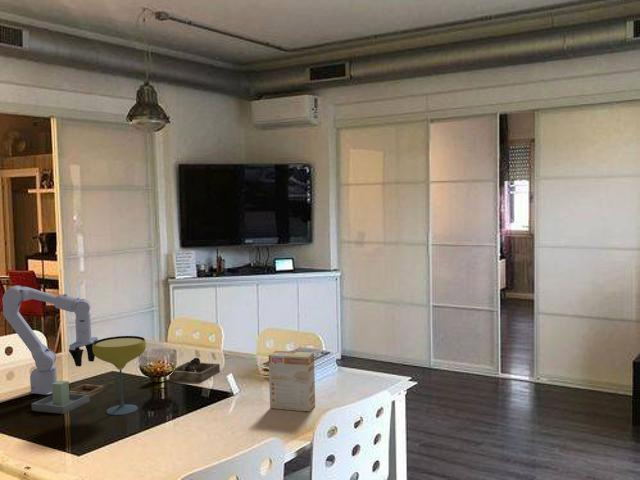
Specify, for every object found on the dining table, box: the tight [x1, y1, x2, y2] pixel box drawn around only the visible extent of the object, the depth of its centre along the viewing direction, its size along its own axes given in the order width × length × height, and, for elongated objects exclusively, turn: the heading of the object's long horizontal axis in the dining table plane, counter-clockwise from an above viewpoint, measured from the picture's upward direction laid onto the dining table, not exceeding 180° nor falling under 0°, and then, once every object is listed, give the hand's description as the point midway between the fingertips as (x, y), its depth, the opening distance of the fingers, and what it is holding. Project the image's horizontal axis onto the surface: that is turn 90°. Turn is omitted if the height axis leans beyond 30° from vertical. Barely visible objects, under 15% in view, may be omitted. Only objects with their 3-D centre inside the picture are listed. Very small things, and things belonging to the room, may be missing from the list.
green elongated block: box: [51, 380, 70, 406], centre depth 232 cm, size 4×4×8 cm
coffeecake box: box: [268, 350, 316, 413], centre depth 225 cm, size 15×7×20 cm, turn 71°
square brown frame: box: [69, 383, 107, 398], centre depth 248 cm, size 10×10×2 cm
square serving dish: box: [168, 361, 221, 383], centre depth 268 cm, size 15×15×4 cm
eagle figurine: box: [182, 357, 201, 372], centre depth 271 cm, size 8×7×9 cm
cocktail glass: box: [92, 335, 147, 416], centre depth 225 cm, size 18×18×25 cm
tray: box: [30, 393, 91, 415], centre depth 232 cm, size 14×14×2 cm
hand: (84, 363), depth 253 cm, fingers open, 7 cm apart
